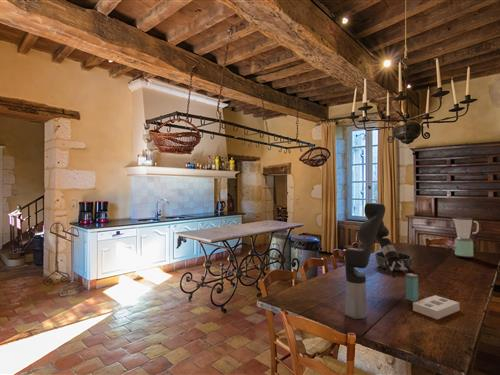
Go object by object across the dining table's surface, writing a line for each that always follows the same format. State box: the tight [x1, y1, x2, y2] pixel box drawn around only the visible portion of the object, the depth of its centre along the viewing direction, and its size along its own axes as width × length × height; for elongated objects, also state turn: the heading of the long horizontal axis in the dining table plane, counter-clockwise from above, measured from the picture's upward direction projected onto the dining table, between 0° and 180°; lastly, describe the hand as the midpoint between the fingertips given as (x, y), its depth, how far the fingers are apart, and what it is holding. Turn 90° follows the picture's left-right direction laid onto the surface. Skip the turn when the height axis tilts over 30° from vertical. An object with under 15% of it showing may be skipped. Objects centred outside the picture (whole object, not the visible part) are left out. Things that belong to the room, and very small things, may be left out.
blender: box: [451, 216, 480, 260], centre depth 257 cm, size 19×13×35 cm
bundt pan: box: [374, 251, 413, 272], centre depth 229 cm, size 26×26×10 cm
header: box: [412, 294, 460, 320], centre depth 151 cm, size 20×12×4 cm, turn 119°
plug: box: [405, 272, 419, 303], centre depth 166 cm, size 4×4×14 cm
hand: (401, 277), depth 176 cm, fingers open, 8 cm apart
